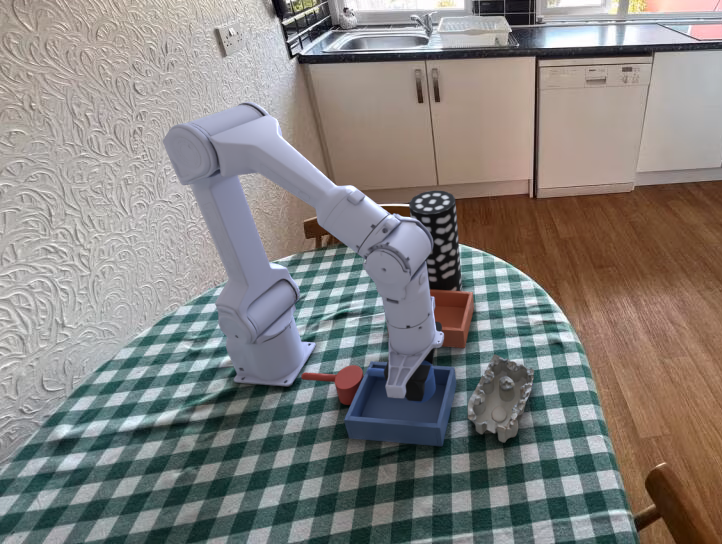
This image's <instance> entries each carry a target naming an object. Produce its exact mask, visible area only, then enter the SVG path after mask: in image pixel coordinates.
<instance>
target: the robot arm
mask: <svg viewBox="0 0 722 544" xmlns="http://www.w3.org/2000/svg"><path fill="white" fill-rule="evenodd" d="M162 143H163V146H164V149H165V151H166V154H167V156H168V159H169V160H170V161H169V162H170V164H171V165H172V168H173V170H174V173H175V175H176V177H177V178H178V181H179V183H180V185H182V186H188V185H189V187H190V190H191V192H192V194H193V197H194V199H195V201H196V204H197V207H198V209H199V211H200V213H201V216H202V219H203V221H204V223H205V225H206V228H207V230H208V233H209V234H210V237H211V239H212V242H213V245H214V247H215V249H216V251H217V254H218V257H219V259H220V261H221V263H222V267H223V268H224V271H225V273H226V276H227V278H228V279H227V281H226V283H225V285H224V287H223V288H222V289H221V292H220V293H219V295H218V296H217V298H216V300H215V302H214V305H215V307H216V311H217V320H218V321H217V323H218V326H219V329H220V330H221V332H222V333H223V334H224V336H226V340H225V350H226V352H227V355H228V357H229V359H230V361H231V364H232V365H233V368H234V370H235V373H236V375H235V376H234V377H233V382H234V383H239V384H251V385H262V386H263V385H265V386H277V387H291V386H292V385H293V383H294V382H295V380H296V378H297V377H298V375H299V374H300V372H301V370H302V369H303V368H304V366H305V364H306V362H307V361H308V359H309V357H310V356H311V354H312V353H313V351H314V350H315V348H316V346H317V345H316V343H315V342H311V341H302V338H301V336H300V333H299V329H298V326H297V323H296V320H295V316H294V313H295V312H296V310H297V307H296V305H295V304H296V303H297V302H298V301H300V298H301V291H300V288H299V285H298V284H297V282H296V281H295V279H294V278H292V276H291V274H290V272H289V270H288V268H287V267H285V266H283V265H281V264H278V263H275V262H270V261H269V258H268V255H267V253H266V249H265V247H264V245H263V241H262V239H261V235H260V234H259V230H258V228H257V224H256V222H255V220H254V216H253V214H252V210H251V208H250V205H249V203H248V200H247V197H246V195H245V192H244V189H243V186H242V183H241V180H240V177H239V176H242V175H252V174H260V175H261V176H263V177H265V178H266V179H267V180H269V181H271V182H272V183H273V184H275V185H277V186H279V187H280V188H282V189H283V190H285V191H287V192H288V193H289V194H291V195H293V196H294V197H296V198H298V199H299V200H300V201H302V202H304V203H306V204H307V205H308V206H310V207H312V208H313V209H314V210H315V214H316V215H315V216H316V221H317V224H318V225H319V226H320V227H321V228H322V229H324V231H327V232H328V233H329V234H330V235H332V236H333V237H335V238H336V239H337V240H339V241H340V242H341V243H342V244H343V245H345V246H347V247H348V248H349V249H350V250H352V251H353V252H354V253H356V254H357V255H358V256H360V257H361V258H362V259H364V260H365V261H363V262H362V267H363V269H364V271H365V272H366V274H367V276H368V277H369V278H370V279H371V280H372V282H373V283H374V285H375V288H376V292H377V293H379V296H380V297H381V301H382V306H383V311H384V318H385V323H386V329H387V328H388V330H387V334H388V333H389V335H388V360H387V361H386V362H387V365H386V367H385V369H384V376H385V380H387V383H386V386H385V387H386V392H387V396H388V397H391V398H404V397H406V398H407V400H408V401H420V402H421V401H422V399H423V396H424V391H425V381H426V379H427V377H428V374H429V371H430V367H431V365H432V366H434V360H435V352H436V349H439V348H442V347H443V346H442V344H443V340H444V333H443V332H441V331H442V324H441V323H440V322H437V321H435V318H434V309H435V299H434V297H430V289H429V281H428V272H427V264H426V261H425V260H426V258H427V257H428V256H429V254H430V252H431V251H432V249H433V238H432V236H431V234H430V232H429V231H428V229H427V228H426V227H425V226H424V225H422V224H421V222H420V221H418V220H416V219H414V218H411V216H410V217H409V216H402V215H400V214H399V213H393V214H391V213H390V212H388V211H387V210H386V209H384V208H383V207H382V206H381V205H380V204H378V203H377V202H375V201H374V200H373V199H371V198H370V197H368V196H367V195H366V194H365V193H363V192H362V191H361V190H359V189H358V188H357V187H355V186H354V185H350V184H349V185H336V183H334V182H333V181H332V180H331V179H330V178H328V177H327V176H326V175H325V174H324V173H323V172H322V171H320V169H319V168H317V167H316V165H314V164H313V163H312V162H310V161H309V160H308V158H306V157H305V156H304V155H303V154H301V152H300V151H299V150H297V149H296V148H294V147H293V145H291V144H290V143H289V142H288V141H287V140H286V139H285V138H283V133H282V129H281V126H280V123H279V121H278V119H277V118H276V117H274V116H273V115H270V113H269V112H267V110H265V108H263V106H261V105H259V104H258V103H256V102H252V101H243V102H240V103H239V104H238V105H236V106H232V107H230V108H227V109H223V110H220V111H217V112H214V113H212V114H209V115H206V116H203V117H200V118H197V119H193V120H191V121H188V122H183V123H177V124H174V125H173V126H171V127H170V128H169V130H168V131H167V132H166V135H165V136H164V137H163V139H162ZM423 360H425V361H428V362H429V363H430V364H431V365H420V364H421V363H422V361H423Z"/></svg>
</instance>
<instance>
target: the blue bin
mask: <svg viewBox="0 0 722 544" xmlns="http://www.w3.org/2000/svg"><path fill="white" fill-rule="evenodd" d="M387 362H388V361H374V360H371V361H370V362H369V364H368V366H367V369H366V371H365V373H364V374H363V375H364V377H363V379H362V381H361V384H360V386H359V388H358V390H357V392H356V395H355V397H354V399H353V401H352V403H351V405H349V408H348V410H347V412H346V415H345V417H344V418H343V422H344V425H345V429H346V432H347V436H348V439H351V440H353V439H354V440H363V441H365V440H366V441H376V442H388V443H397V444H398V443H399V444H408V445H409V444H410V445H421V446H432V447H443V445H444V442H445V437H446V434H447V429H448V424H449V419H450V415H451V411H452V407H453V403H454V398H455V395H456V394H455V393H456V389H457V375H456V367H455V366H443V365H433V370H434V377H435V385H436V389H435V393H434V395H433V396H432V397H431V398H430V399H429V400H428V401H426V402H423V403H414V402H412V401H408V400H407V398H406V397H404V398H391V397H388V396H387V392H386V387H385V386H386V383H387V380H385V377H377V376H368V375H367V370H368V369H369V368H379V369H385V367H386V365H387Z"/></svg>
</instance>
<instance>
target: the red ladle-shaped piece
mask: <svg viewBox="0 0 722 544" xmlns="http://www.w3.org/2000/svg"><path fill="white" fill-rule="evenodd" d="M364 375H365V374H364V371H363V369H362V368H361V367H360V366H359V365H357V364H350V365H347V366H345V367H343V368H342V369H340V370H339V371H338V372H337V374H333V373H320V372H308V371H306V372H303V373H302V374H301V375H300V378H301V379H302V380H304V381H315V382H327V383H328V382H329V383H334V387H335V389H336V393H337V396H338V397H337V398H338V400H339V402H340V403H341V404H343V405H344V406H351V403H352V401H353V399H354V397H355V395H356V392H357V390H358V388H359V386H360V384H361V381H362V379H363V377H364Z"/></svg>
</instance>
